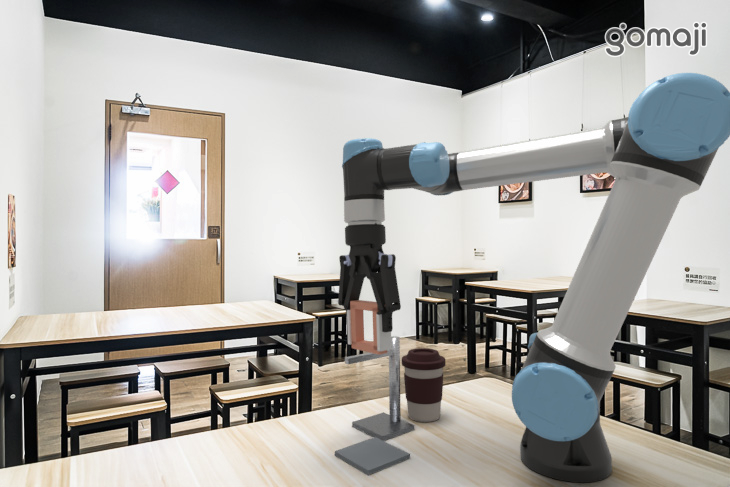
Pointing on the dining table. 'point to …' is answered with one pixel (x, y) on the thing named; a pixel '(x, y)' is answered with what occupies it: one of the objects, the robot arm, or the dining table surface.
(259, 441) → the dining table surface
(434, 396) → the coffee cup
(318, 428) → the dining table surface
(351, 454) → the coaster
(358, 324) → the link
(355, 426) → the stand
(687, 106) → the robot arm
